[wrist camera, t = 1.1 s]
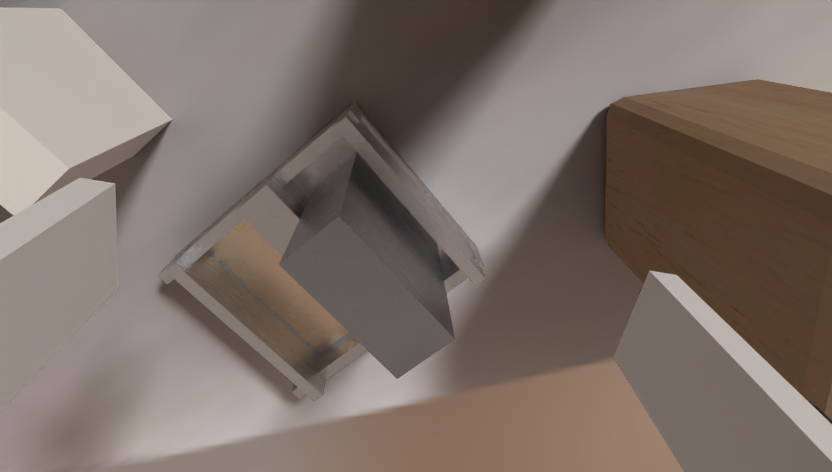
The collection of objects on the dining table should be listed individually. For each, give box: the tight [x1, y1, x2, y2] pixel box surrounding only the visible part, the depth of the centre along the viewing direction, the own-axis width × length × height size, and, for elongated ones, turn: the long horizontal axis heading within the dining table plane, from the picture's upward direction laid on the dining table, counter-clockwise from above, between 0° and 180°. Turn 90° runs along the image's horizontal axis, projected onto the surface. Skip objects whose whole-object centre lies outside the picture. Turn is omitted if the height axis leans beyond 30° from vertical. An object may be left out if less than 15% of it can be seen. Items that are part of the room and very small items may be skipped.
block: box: [605, 80, 832, 420], centre depth 25 cm, size 10×10×20 cm
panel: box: [0, 8, 172, 215], centre depth 26 cm, size 8×4×11 cm, turn 39°
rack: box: [158, 102, 486, 401], centre depth 30 cm, size 13×16×12 cm
